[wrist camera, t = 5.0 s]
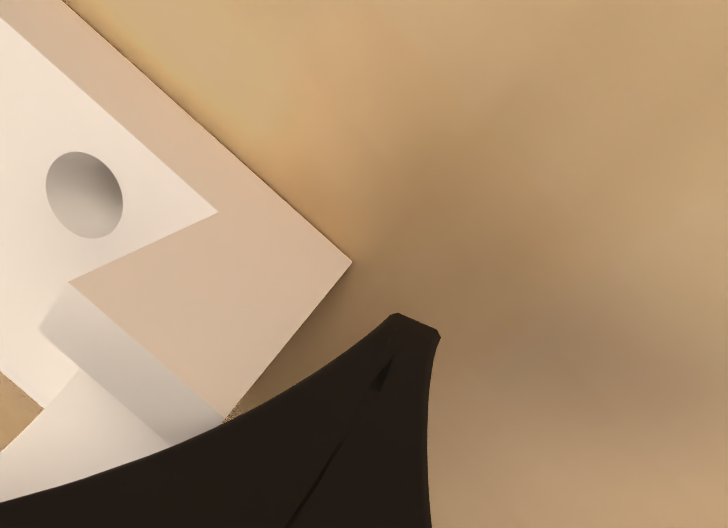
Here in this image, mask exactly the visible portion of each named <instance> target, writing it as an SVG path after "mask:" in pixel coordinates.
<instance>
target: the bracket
mask: <svg viewBox="0 0 728 528" xmlns="http://www.w3.org/2000/svg"><path fill="white" fill-rule="evenodd" d="M351 264H352V261H351V260H350V259H349V258H348V257H347V256H346V255H345V254H343V253H342V252H341V251H340V250H339V249H338V248H337V247H336V246H335V245H333V244H332V243H331V242H330V241H329V240H328V239H327V238H326V237H325V236H323V235H322V234H321V233H320V232H319V231H318V230H317V229H316V228H315V227H313V226H312V225H311V224H310V223H309V222H308V221H307V220H306V219H305V218H303V217H302V216H301V215H300V214H299V213H298V212H297V211H296V210H294V209H293V208H292V207H291V206H290V205H289V204H288V203H287V202H286V201H284V200H283V199H282V198H281V197H280V196H279V195H278V194H277V193H276V192H274V191H273V190H272V189H271V188H270V187H269V186H268V185H267V184H266V183H264V182H263V181H262V180H261V179H260V178H259V177H258V176H257V175H256V174H254V173H253V172H252V171H251V170H250V169H249V168H248V167H247V166H246V165H244V164H243V163H242V162H241V161H240V160H239V159H238V158H237V157H235V156H234V155H233V154H232V153H231V152H230V151H229V150H228V149H227V148H225V147H224V146H223V145H222V144H221V143H220V142H219V141H218V140H217V139H215V138H214V137H213V136H212V135H211V134H210V133H209V132H208V131H207V130H205V129H204V128H203V127H202V126H201V125H200V124H199V123H198V122H197V121H195V120H194V119H193V118H192V117H191V116H190V115H189V114H188V113H187V112H185V111H184V110H183V109H182V108H181V107H180V106H179V105H178V104H176V103H175V102H174V101H173V100H172V99H171V98H170V97H169V96H168V95H166V94H165V93H164V92H163V91H162V90H161V89H160V88H159V87H158V86H156V85H155V84H154V83H153V82H152V81H151V80H150V79H149V78H148V77H146V76H145V75H144V74H143V73H142V72H141V71H140V70H139V69H138V68H136V67H135V66H134V65H133V64H132V63H131V62H130V61H129V60H128V59H126V58H125V57H124V56H123V55H122V54H121V53H120V52H119V51H118V50H116V49H115V48H114V47H113V46H112V45H111V44H110V43H109V42H107V41H106V40H105V39H104V38H103V37H102V36H101V35H100V34H99V33H97V32H96V31H95V30H94V29H93V28H92V27H91V26H90V25H89V24H87V23H86V22H85V21H84V20H83V19H82V18H81V17H80V16H79V15H77V14H76V13H75V12H74V11H73V10H72V9H71V8H70V7H69V6H67V5H66V4H65V3H64V2H63V1H62V0H0V371H1V372H2V373H3V374H4V375H5V376H7V377H8V378H9V379H10V380H11V381H12V382H14V383H15V384H16V385H17V386H18V387H19V388H21V389H22V390H23V391H24V392H25V393H26V394H28V395H29V396H30V397H31V398H32V399H33V400H35V401H36V402H37V403H38V404H39V405H40V406H41V407H43V408H44V410H43V411H42V412H41V413H40V414H39V415H38V416H37V417H36V418H35V419H34V420H33V421H32V422H31V423H30V424H29V425H28V426H27V427H26V428H25V429H24V430H23V431H22V432H21V433H20V434H19V435H18V436H17V437H16V438H15V439H14V440H13V441H12V442H11V443H10V444H9V445H8V446H6V447H5V448H4V449H3V450H2V451H1V452H0V502H4V501H7V500H11V499H15V498H18V497H22V496H25V495H29V494H32V493H36V492H40V491H43V490H47V489H50V488H54V487H57V486H61V485H64V484H67V483H70V482H74V481H77V480H80V479H83V478H86V477H89V476H92V475H95V474H97V473H100V472H103V471H106V470H109V469H112V468H115V467H117V466H120V465H123V464H126V463H129V462H132V461H135V460H137V459H140V458H143V457H146V456H149V455H151V454H154V453H157V452H159V451H162V450H164V449H167V448H169V447H172V446H174V445H176V444H179V443H181V442H183V441H186V440H188V439H190V438H193V437H195V436H197V435H199V434H202V433H204V432H206V431H208V430H211V429H213V428H215V427H218V426H219V425H220V424H221V423H222V422H223V420H224V419H225V418H226V417H227V416H228V415H229V413H230V412H231V411H232V410H233V408H234V407H235V406H236V405H237V404H238V402H239V401H240V400H241V399H242V397H243V396H244V395H245V394H246V392H247V391H248V390H249V389H250V388H251V386H252V385H253V384H254V383H255V381H256V380H257V379H258V378H259V377H260V375H261V374H262V373H263V372H264V370H265V369H266V368H267V367H268V365H269V364H270V363H271V362H272V361H273V359H274V358H275V357H276V356H277V354H278V353H279V352H280V351H281V350H282V348H283V347H284V346H285V345H286V343H287V342H288V341H289V340H290V338H291V337H292V336H293V335H294V334H295V332H296V331H297V330H298V329H299V327H300V326H301V325H302V324H303V323H304V321H305V320H306V319H307V318H308V316H309V315H310V314H311V313H312V312H313V310H314V309H315V308H316V307H317V305H318V304H319V303H320V302H321V300H322V299H323V298H324V297H325V296H326V294H327V293H328V292H329V291H330V289H331V288H332V287H333V286H334V285H335V283H336V282H337V281H338V280H339V278H340V277H341V276H342V275H343V273H344V272H345V271H346V270H347V269H348V267H349V266H350V265H351Z"/></svg>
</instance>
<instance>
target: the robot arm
mask: <svg viewBox="0 0 728 528" xmlns="http://www.w3.org/2000/svg"><path fill="white" fill-rule="evenodd" d="M440 338H441V337H440V335H439V333H438V331H437V330H436V329H434V328H432V327H429V326H427V325H425V324H422V323H420V322H418V321H415V320H413V319H411V318H408V317H406V316H404V315H402V314H399V313H395V314H392V315H390V316H389V317H388V318H387V319H385V320H384V321H383V322H382V323H381V324H380V325H379V326H378V327H376V328H375V329H374V330H373V331H372V332H371V333H369V334H368V335H367V336H366V337H364V338H363V339H362V340H360V341H359V342H358V343H356V344H355V345H354V346H353V347H351V348H350V349H349V350H347V351H346V352H344V353H343V354H341V355H340V356H339V357H337V358H336V359H334V360H333V361H331V362H330V363H328V364H327V365H326V366H324V367H323V368H321V369H320V370H318V371H317V372H315V373H314V374H312V375H311V376H309V377H307V378H306V379H304V380H302V381H301V382H299V383H297V384H296V385H294V386H292V387H291V388H289V389H287V390H286V391H284V392H282V393H281V394H279V395H277V396H276V397H274V398H272V399H270V400H269V401H267V402H265V403H263V404H261V405H259V406H258V407H256V408H254V409H252V410H250V411H248V412H246V413H244V414H242V415H240V416H238V417H236V418H234V419H232V420H230V421H228V422H226V423H224V424H222V425H220V426H218V427H215V428H213V429H211V430H208V431H206V432H204V433H202V434H199V435H197V436H195V437H193V438H190V439H188V440H186V441H183V442H181V443H179V444H176V445H174V446H172V447H169V448H167V449H164V450H162V451H159V452H157V453H154V454H151V455H149V456H146V457H143V458H140V459H137V460H135V461H132V462H129V463H126V464H123V465H120V466H117V467H115V468H112V469H109V470H106V471H103V472H100V473H97V474H95V475H92V476H89V477H86V478H83V479H80V480H77V481H74V482H70V483H67V484H64V485H61V486H57V487H54V488H50V489H47V490H43V491H40V492H36V493H32V494H29V495H25V496H22V497H18V498H15V499H11V500H7V501H4V502H0V528H432V524H431V514H430V502H429V487H428V462H427V423H428V399H429V388H430V380H431V372H432V366H433V360H434V356H435V352H436V348H437V346H438V343H439V341H440Z"/></svg>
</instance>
